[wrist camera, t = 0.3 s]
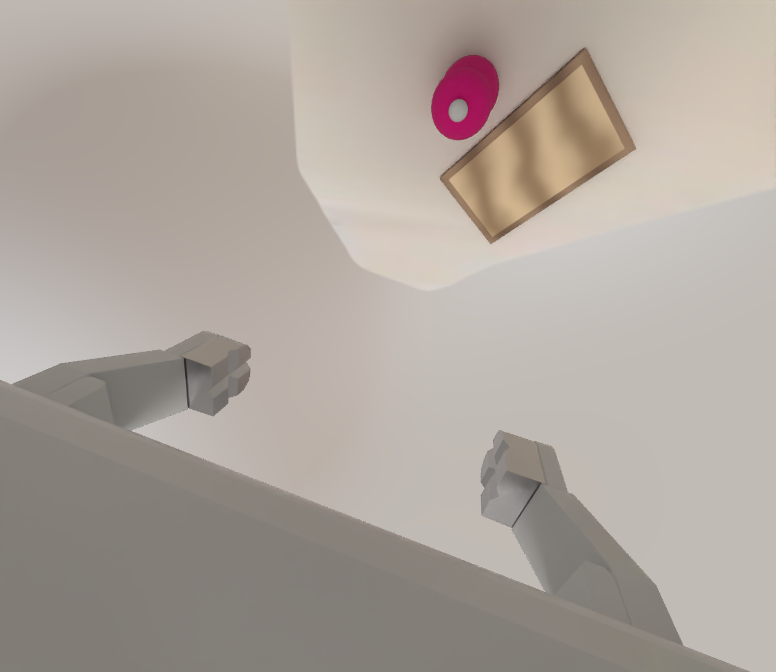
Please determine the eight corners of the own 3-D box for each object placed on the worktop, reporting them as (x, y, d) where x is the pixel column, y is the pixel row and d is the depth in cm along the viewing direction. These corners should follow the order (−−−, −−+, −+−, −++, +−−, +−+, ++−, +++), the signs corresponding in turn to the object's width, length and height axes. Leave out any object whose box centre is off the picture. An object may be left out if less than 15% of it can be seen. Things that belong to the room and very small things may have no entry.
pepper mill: (462, 41, 42) (443, 42, 27) (510, 72, 42) (516, 88, 28) (434, 104, 47) (405, 132, 32) (478, 130, 47) (469, 169, 33)
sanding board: (584, 48, 39) (586, 48, 38) (633, 146, 44) (636, 149, 43) (440, 176, 53) (439, 179, 52) (490, 241, 57) (490, 244, 56)
